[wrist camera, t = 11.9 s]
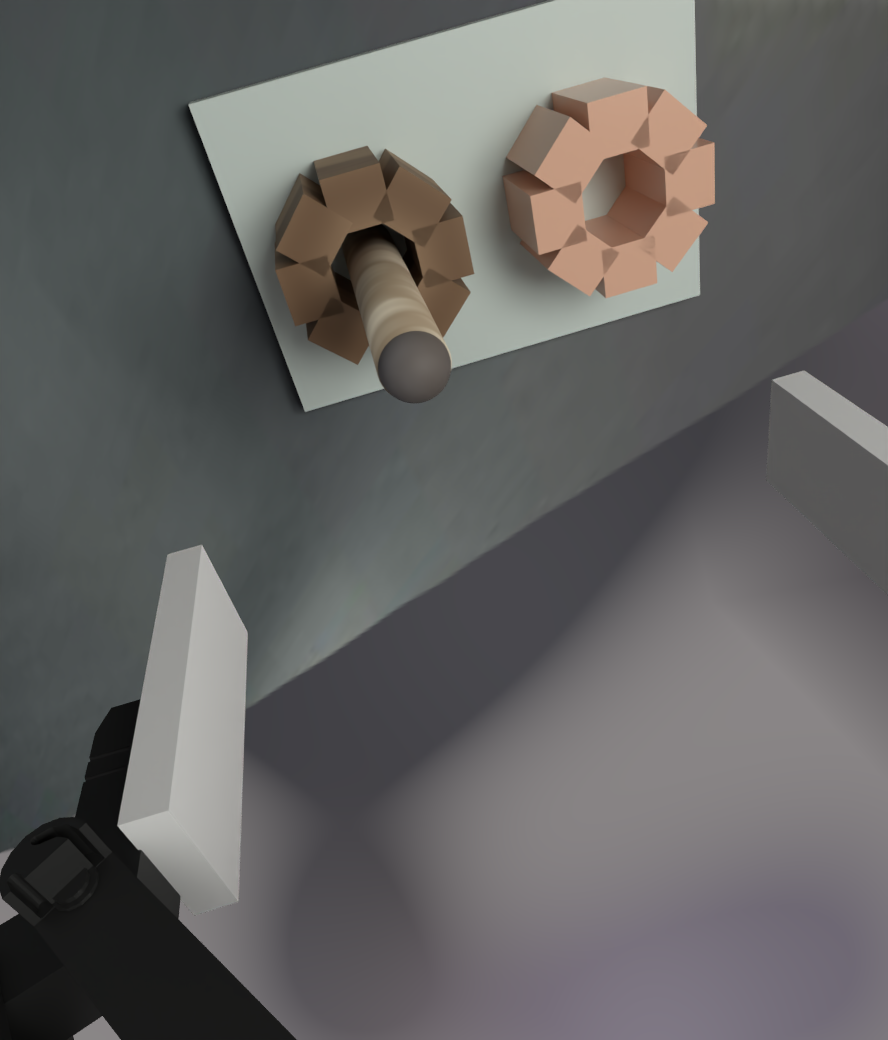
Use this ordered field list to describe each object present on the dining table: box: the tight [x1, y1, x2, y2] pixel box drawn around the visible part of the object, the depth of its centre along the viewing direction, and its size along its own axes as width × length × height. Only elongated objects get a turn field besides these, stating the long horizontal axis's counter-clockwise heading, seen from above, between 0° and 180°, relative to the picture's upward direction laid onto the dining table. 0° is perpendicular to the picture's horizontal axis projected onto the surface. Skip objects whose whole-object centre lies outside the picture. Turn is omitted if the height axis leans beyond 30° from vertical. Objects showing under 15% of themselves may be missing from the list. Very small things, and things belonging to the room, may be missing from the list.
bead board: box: [188, 0, 700, 412], centre depth 39 cm, size 24×16×1 cm, turn 103°
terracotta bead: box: [502, 77, 715, 298], centre depth 37 cm, size 9×9×5 cm
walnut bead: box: [275, 146, 474, 365], centre depth 36 cm, size 9×9×5 cm
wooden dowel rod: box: [342, 224, 452, 403], centre depth 31 cm, size 3×3×17 cm
